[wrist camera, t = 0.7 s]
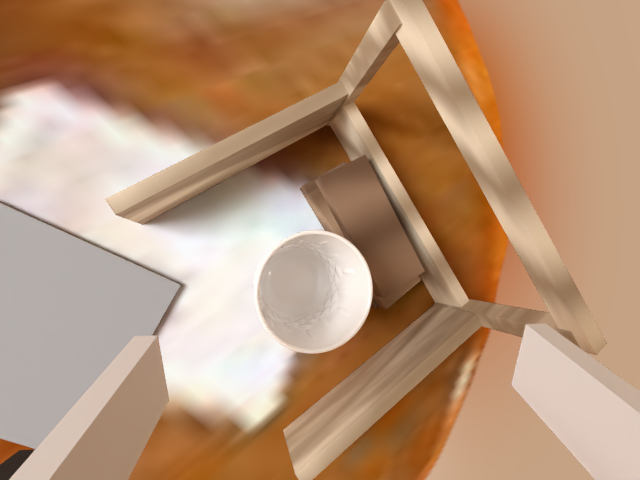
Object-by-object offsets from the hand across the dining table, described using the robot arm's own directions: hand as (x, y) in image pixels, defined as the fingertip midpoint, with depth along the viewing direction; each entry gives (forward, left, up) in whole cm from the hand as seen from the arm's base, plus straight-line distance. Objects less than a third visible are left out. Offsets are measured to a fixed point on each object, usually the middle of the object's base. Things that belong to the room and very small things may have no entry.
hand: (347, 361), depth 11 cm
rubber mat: (+10, -16, -18) cm, 26 cm away
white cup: (-2, 0, -19) cm, 19 cm away
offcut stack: (-9, +4, -19) cm, 21 cm away
